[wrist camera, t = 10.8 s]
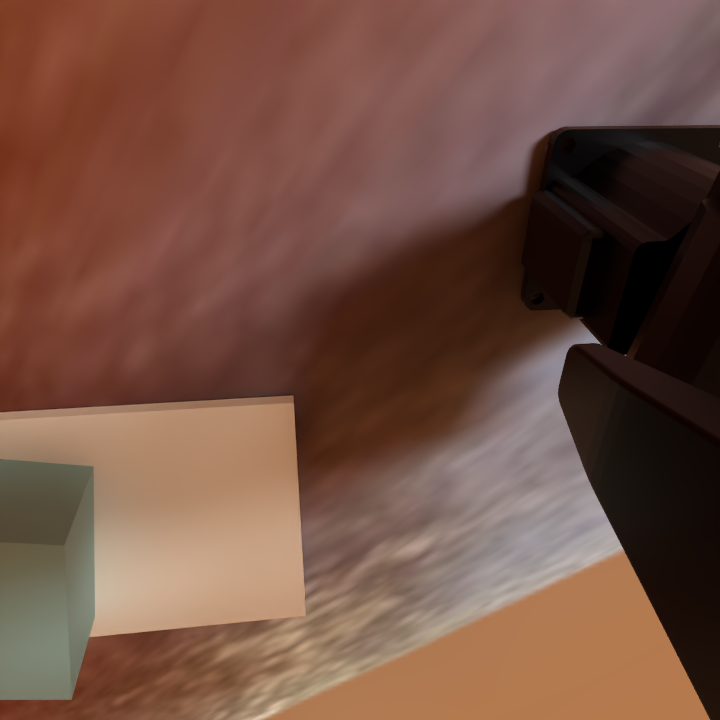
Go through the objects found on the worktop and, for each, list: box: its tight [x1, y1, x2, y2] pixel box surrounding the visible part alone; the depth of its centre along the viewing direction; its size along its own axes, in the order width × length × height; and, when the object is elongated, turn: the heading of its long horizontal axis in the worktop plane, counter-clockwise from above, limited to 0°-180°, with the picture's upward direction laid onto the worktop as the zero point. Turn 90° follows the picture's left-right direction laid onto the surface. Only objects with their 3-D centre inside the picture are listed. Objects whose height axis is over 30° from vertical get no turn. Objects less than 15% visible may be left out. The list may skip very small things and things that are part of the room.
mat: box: [0, 395, 306, 637], centre depth 26 cm, size 20×14×1 cm
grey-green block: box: [0, 459, 95, 700], centre depth 24 cm, size 10×6×4 cm, turn 167°
